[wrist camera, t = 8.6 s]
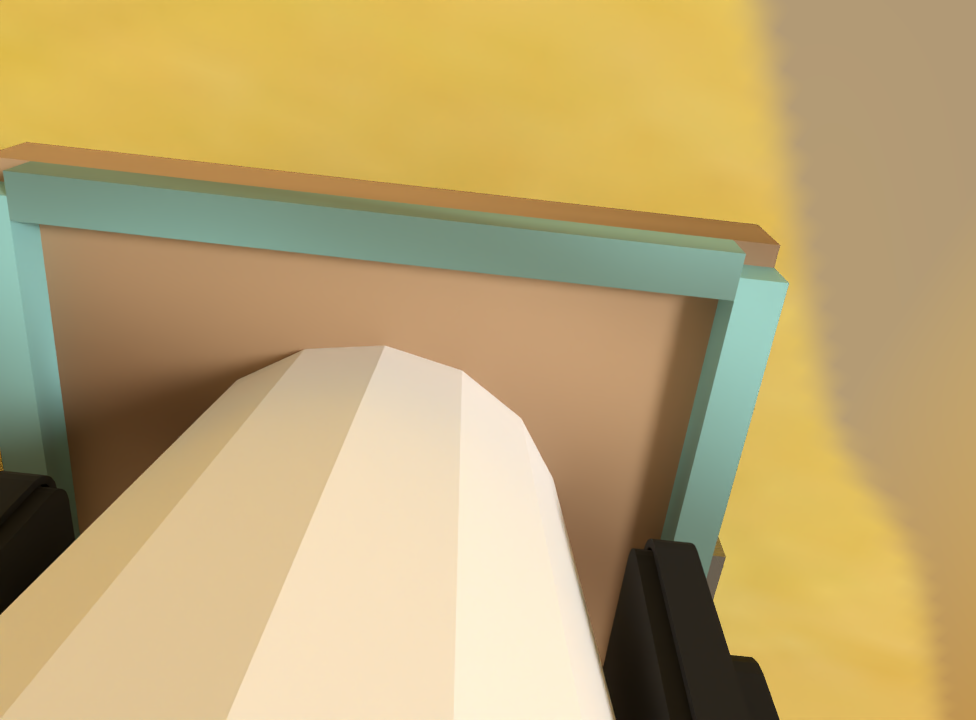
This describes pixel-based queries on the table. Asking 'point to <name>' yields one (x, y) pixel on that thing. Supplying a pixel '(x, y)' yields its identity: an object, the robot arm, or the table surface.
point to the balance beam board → (382, 326)
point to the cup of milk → (320, 565)
